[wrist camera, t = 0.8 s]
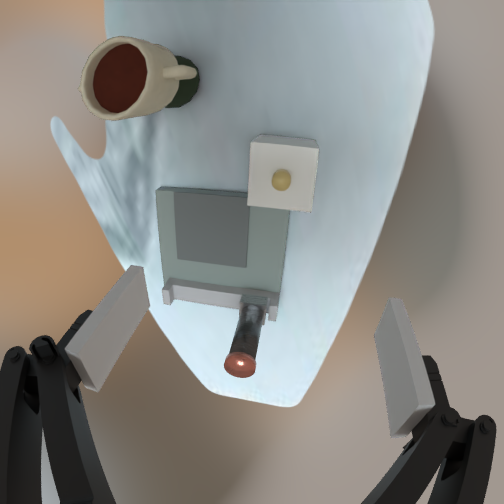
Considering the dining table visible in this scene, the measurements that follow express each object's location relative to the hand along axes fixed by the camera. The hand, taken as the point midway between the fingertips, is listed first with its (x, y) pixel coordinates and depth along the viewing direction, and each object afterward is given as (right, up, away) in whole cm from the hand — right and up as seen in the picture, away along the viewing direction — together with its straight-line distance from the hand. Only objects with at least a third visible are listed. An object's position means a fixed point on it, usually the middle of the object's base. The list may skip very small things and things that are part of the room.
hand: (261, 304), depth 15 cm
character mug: (-9, +22, +14) cm, 28 cm away
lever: (0, -4, +23) cm, 23 cm away
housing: (+3, +13, +17) cm, 21 cm away
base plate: (-4, +4, +23) cm, 24 cm away
